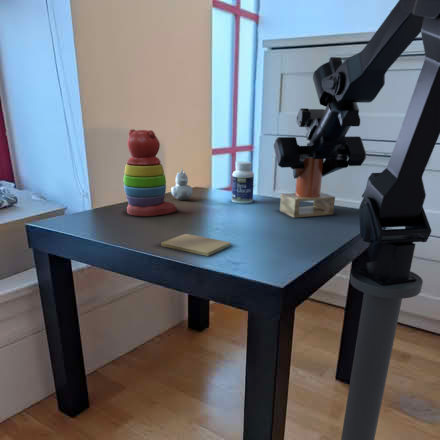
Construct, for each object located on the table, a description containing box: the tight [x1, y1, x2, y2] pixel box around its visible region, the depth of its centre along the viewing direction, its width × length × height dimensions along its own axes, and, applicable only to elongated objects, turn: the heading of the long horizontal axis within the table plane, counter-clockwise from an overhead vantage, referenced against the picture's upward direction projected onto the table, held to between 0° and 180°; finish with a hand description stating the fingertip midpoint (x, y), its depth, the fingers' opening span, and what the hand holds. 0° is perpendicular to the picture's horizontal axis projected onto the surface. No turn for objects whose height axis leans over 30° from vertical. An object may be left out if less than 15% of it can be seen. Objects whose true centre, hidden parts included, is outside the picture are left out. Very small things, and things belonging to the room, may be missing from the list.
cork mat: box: [160, 233, 232, 257], centre depth 73 cm, size 10×7×1 cm
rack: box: [279, 191, 336, 219], centre depth 95 cm, size 7×10×4 cm
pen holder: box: [294, 158, 325, 198], centre depth 93 cm, size 6×6×9 cm
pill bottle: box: [231, 160, 255, 205], centre depth 105 cm, size 5×5×10 cm
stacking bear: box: [123, 128, 177, 217], centre depth 93 cm, size 11×10×18 cm
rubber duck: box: [170, 168, 193, 201], centre depth 109 cm, size 5×7×8 cm
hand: (306, 176), depth 94 cm, fingers closed on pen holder, 5 cm apart
